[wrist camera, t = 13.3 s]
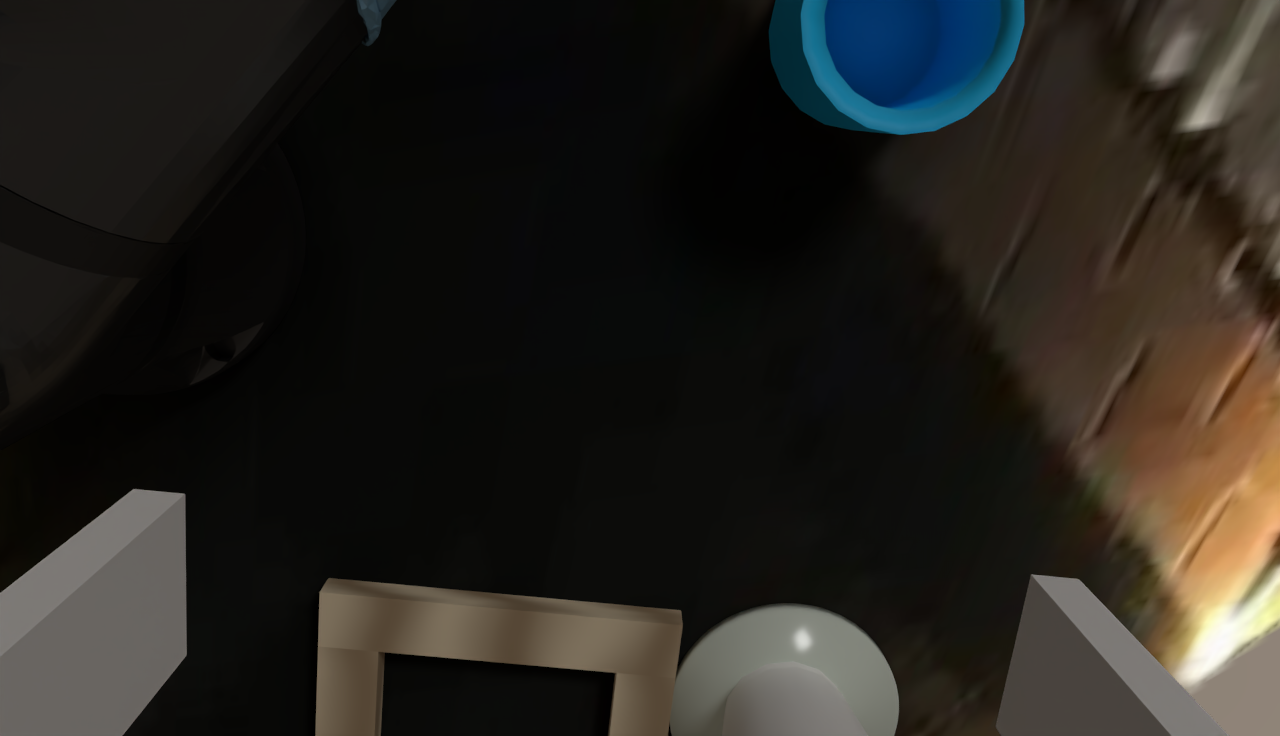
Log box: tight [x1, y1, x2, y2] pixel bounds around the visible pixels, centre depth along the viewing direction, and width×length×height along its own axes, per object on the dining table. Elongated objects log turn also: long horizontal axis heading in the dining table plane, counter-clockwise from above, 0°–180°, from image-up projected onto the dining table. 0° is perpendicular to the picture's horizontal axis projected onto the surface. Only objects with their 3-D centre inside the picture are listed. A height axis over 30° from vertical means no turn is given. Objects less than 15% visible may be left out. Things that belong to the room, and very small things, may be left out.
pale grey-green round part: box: [670, 603, 899, 736], centre depth 51 cm, size 12×12×1 cm
